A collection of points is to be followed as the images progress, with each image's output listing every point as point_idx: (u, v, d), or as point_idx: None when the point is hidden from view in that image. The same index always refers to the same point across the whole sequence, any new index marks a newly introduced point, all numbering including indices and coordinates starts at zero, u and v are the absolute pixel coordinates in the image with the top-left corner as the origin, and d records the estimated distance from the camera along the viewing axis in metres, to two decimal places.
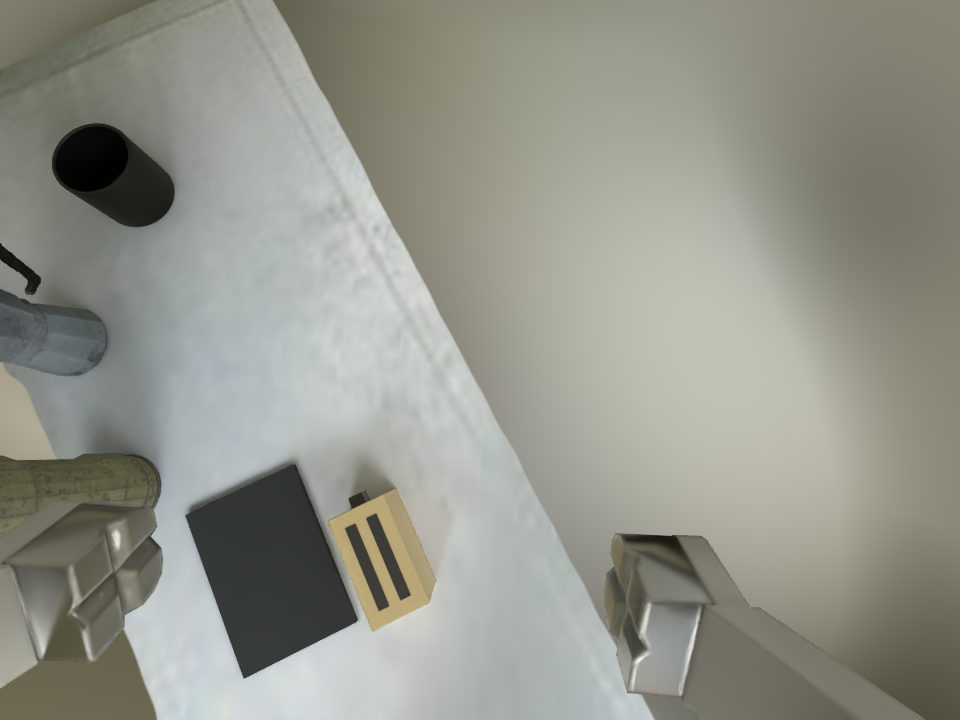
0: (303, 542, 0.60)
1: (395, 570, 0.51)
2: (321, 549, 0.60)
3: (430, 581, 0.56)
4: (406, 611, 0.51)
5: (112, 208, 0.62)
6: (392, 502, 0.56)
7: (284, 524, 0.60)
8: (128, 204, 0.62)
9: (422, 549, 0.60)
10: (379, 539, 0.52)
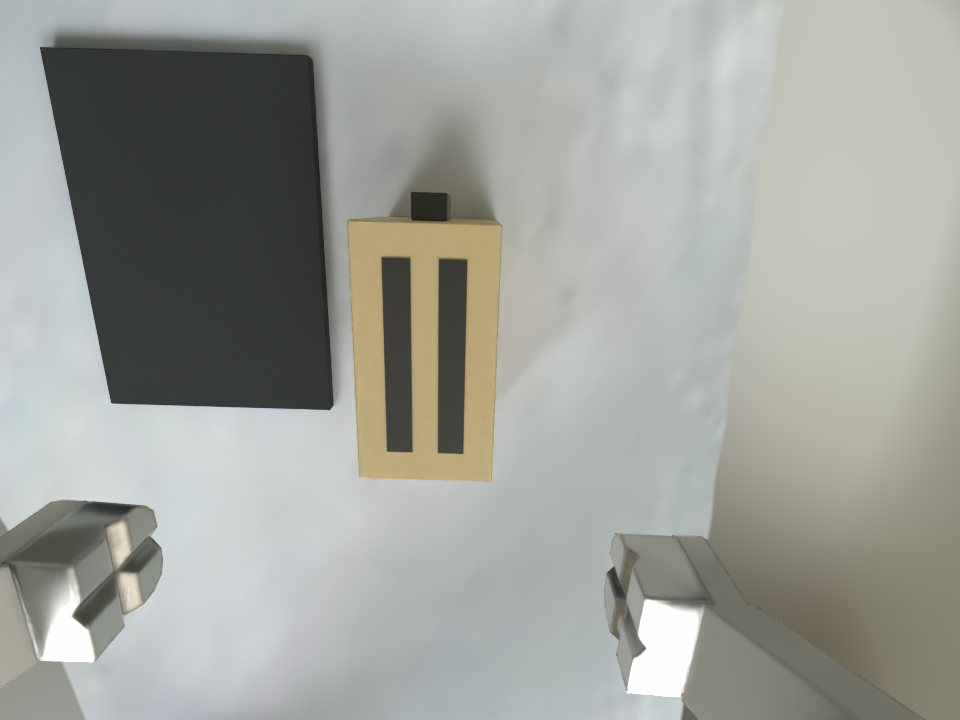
0: (279, 232, 0.29)
1: (453, 395, 0.23)
2: (309, 262, 0.29)
3: None
4: (440, 475, 0.24)
5: None
6: None
7: (252, 178, 0.28)
8: None
9: None
10: (449, 321, 0.22)
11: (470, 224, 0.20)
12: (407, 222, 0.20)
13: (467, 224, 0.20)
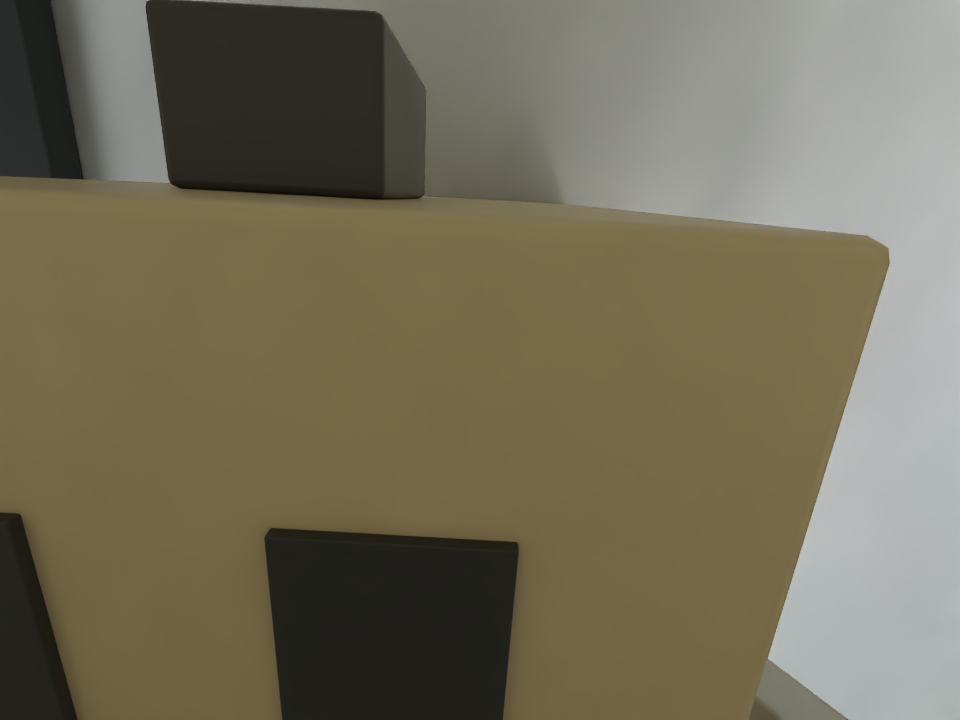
0: None
1: None
2: None
3: None
4: None
5: None
6: None
7: None
8: None
9: None
10: None
11: (569, 232, 0.02)
12: None
13: (538, 232, 0.02)
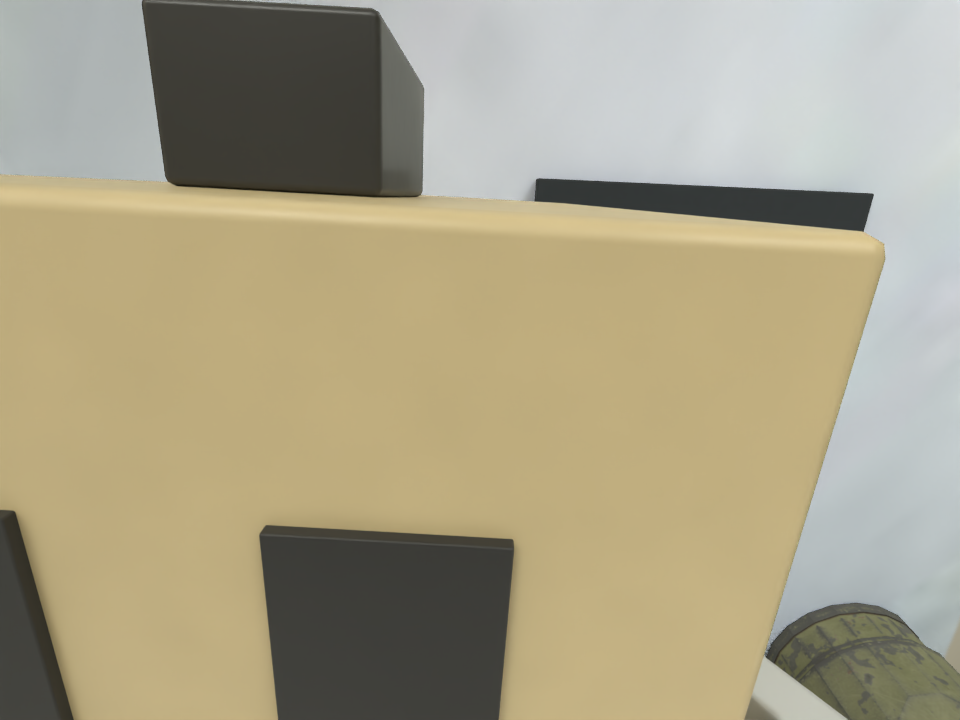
0: None
1: None
2: None
3: None
4: None
5: None
6: None
7: None
8: None
9: None
10: None
11: (563, 228, 0.02)
12: None
13: (532, 227, 0.02)
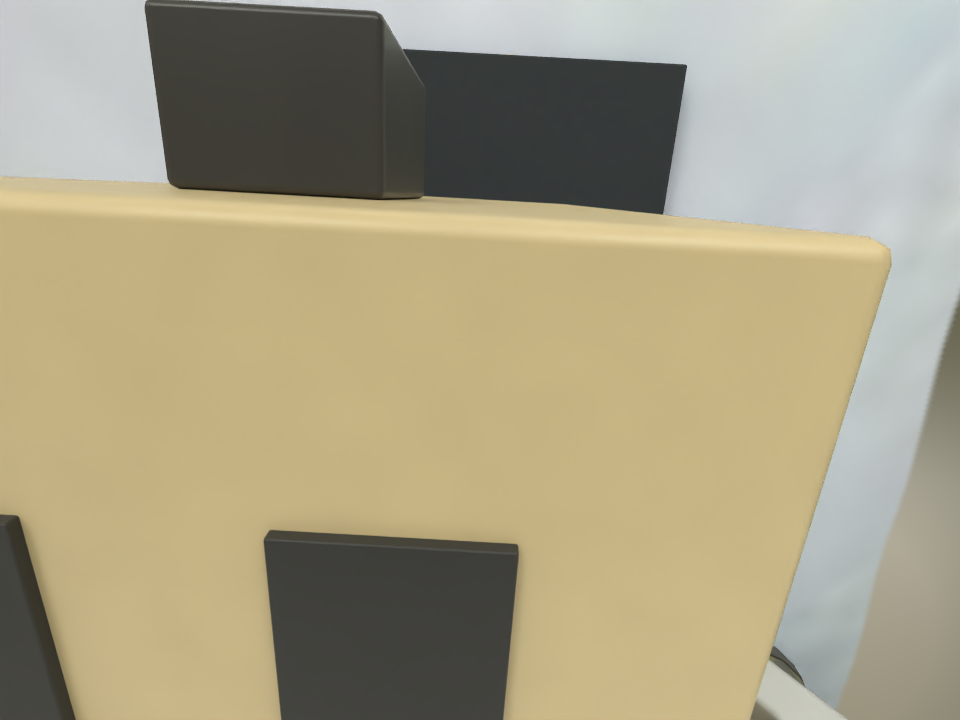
0: None
1: None
2: None
3: None
4: None
5: None
6: None
7: None
8: None
9: None
10: None
11: (568, 233, 0.02)
12: None
13: (538, 232, 0.02)
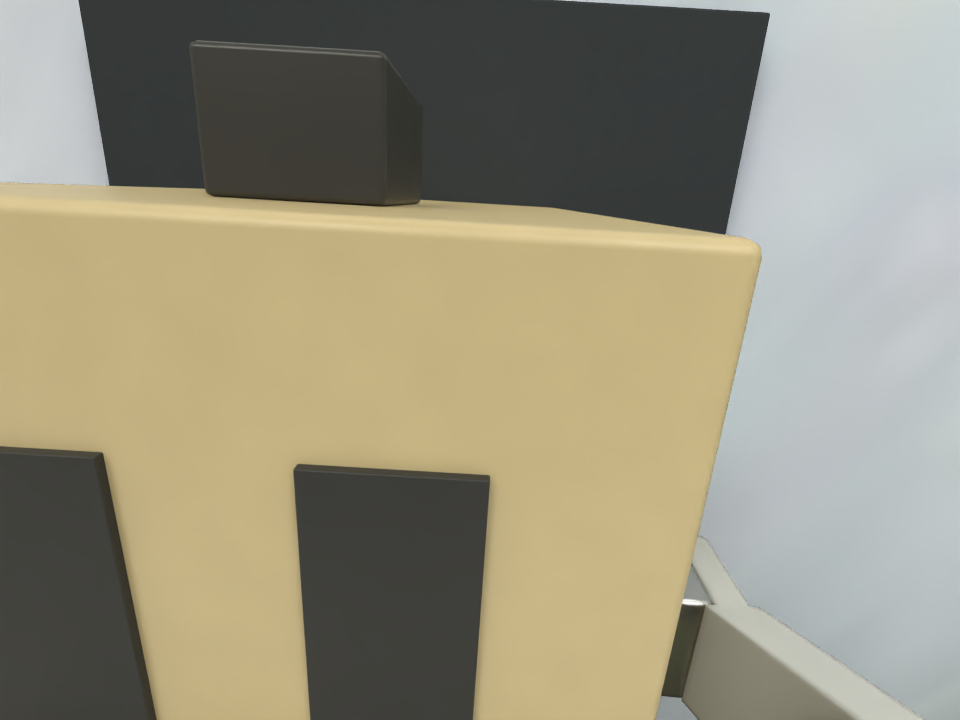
0: None
1: None
2: None
3: None
4: None
5: None
6: None
7: None
8: None
9: None
10: None
11: (524, 234, 0.03)
12: (40, 205, 0.03)
13: (501, 234, 0.03)
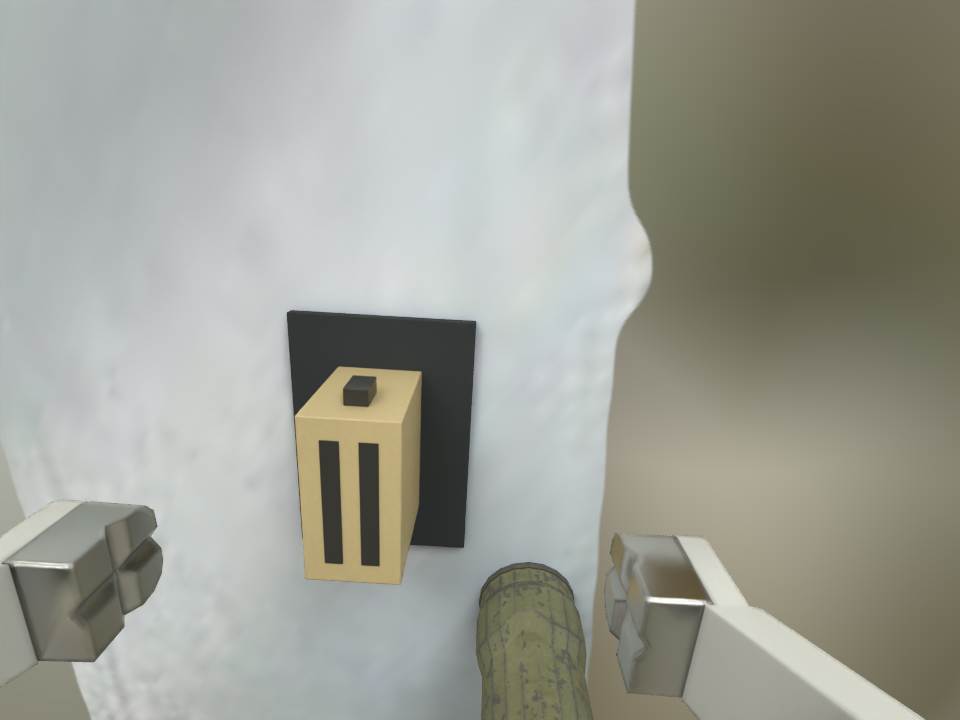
0: None
1: (371, 528, 0.32)
2: None
3: (412, 525, 0.38)
4: (363, 579, 0.33)
5: None
6: (409, 420, 0.33)
7: None
8: None
9: (419, 465, 0.40)
10: (366, 481, 0.31)
11: (380, 421, 0.29)
12: (336, 418, 0.29)
13: (378, 421, 0.29)
